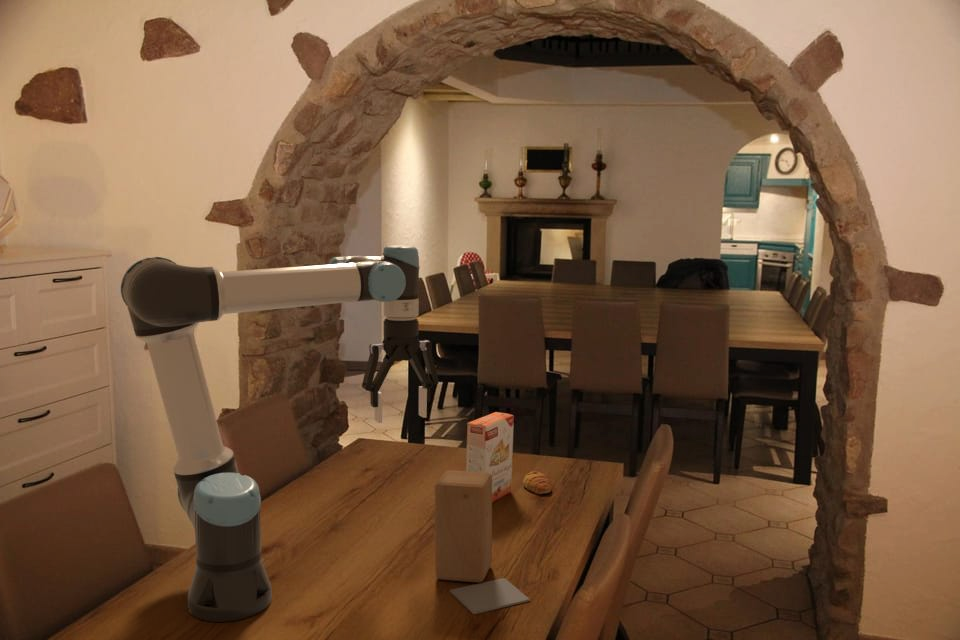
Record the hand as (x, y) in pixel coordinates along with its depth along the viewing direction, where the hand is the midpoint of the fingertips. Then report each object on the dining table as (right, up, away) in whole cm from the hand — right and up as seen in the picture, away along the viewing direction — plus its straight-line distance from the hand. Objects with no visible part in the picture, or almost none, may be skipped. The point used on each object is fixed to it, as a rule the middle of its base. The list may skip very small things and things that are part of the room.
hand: (400, 418), depth 186 cm
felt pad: (+19, -32, -23) cm, 43 cm away
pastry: (+33, -23, +38) cm, 55 cm away
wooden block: (+14, -30, -13) cm, 36 cm away
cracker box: (+20, -24, +30) cm, 43 cm away
